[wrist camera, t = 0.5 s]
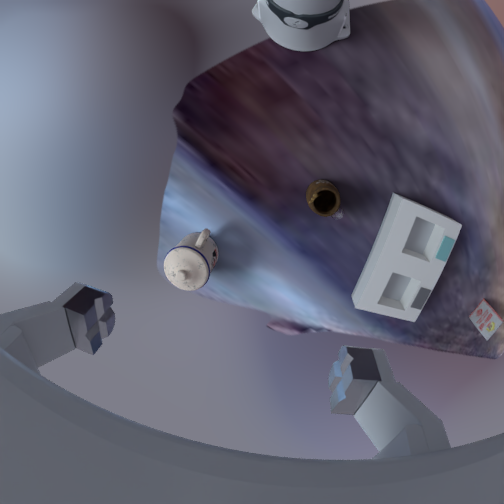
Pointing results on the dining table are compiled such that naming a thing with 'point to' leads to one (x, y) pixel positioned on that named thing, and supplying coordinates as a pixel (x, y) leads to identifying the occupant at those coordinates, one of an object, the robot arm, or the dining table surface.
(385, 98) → the dining table surface
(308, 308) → the dining table surface
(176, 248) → the teacup with lid
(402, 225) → the socket box
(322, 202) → the utensil holder
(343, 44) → the dining table surface
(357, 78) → the dining table surface
